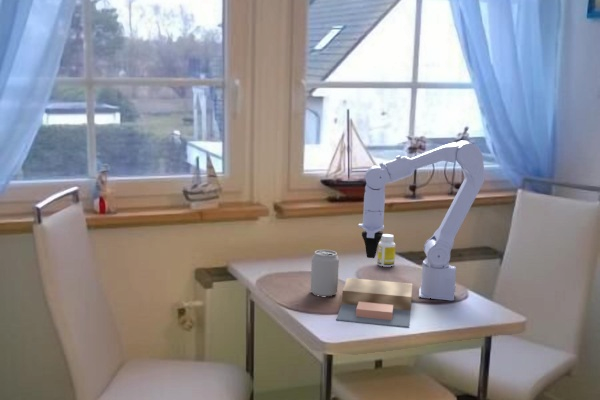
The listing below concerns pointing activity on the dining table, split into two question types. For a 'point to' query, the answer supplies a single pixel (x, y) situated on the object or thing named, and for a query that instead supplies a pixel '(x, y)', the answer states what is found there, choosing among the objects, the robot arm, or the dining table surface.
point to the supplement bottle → (386, 251)
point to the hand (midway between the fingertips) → (370, 257)
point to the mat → (398, 318)
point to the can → (324, 273)
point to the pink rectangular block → (374, 310)
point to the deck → (377, 293)
